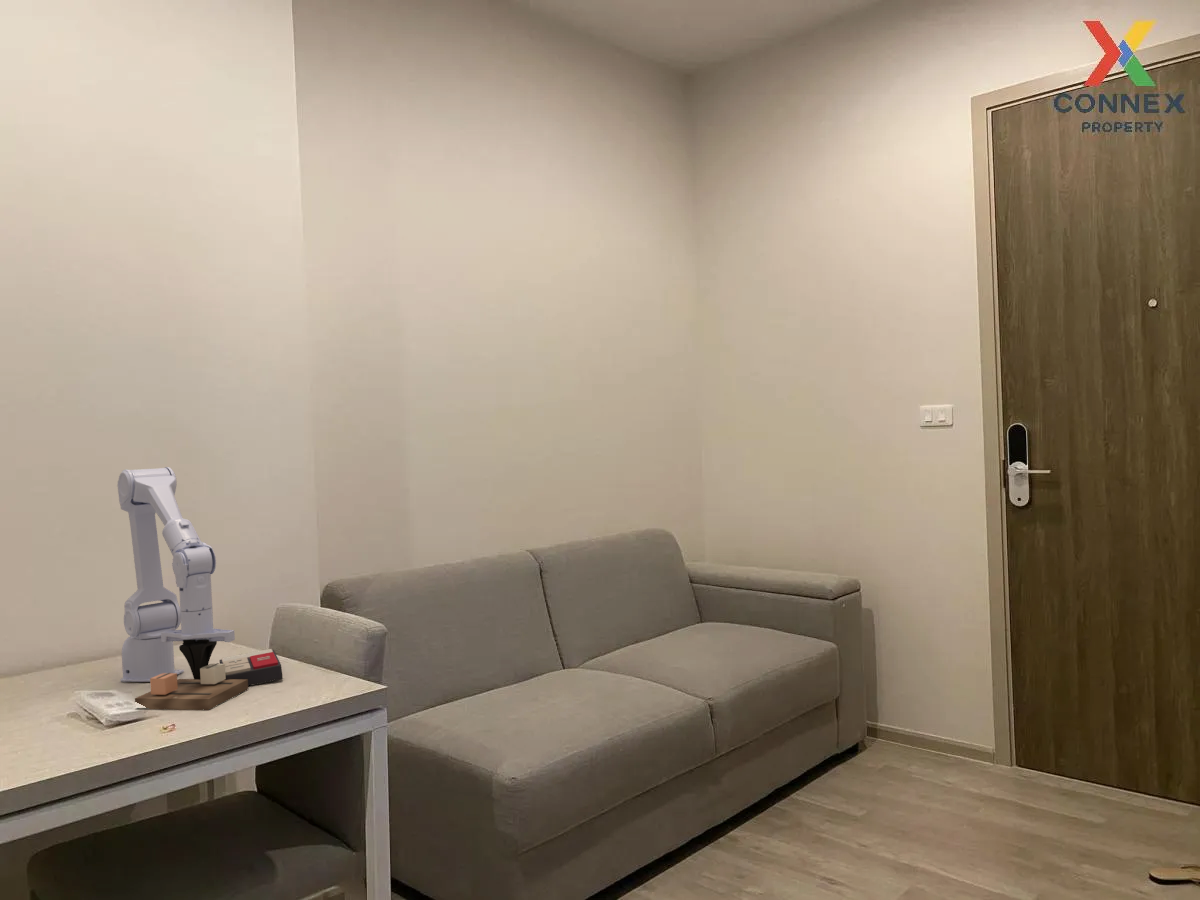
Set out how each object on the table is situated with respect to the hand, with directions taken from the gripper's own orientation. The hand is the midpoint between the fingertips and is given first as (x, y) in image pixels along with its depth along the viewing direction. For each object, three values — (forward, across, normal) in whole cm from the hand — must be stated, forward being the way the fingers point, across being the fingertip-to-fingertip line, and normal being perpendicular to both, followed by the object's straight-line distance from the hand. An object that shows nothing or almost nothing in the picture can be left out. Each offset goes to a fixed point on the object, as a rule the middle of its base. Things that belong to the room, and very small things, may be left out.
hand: (199, 678), depth 176 cm
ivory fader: (+1, +3, 0) cm, 3 cm away
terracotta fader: (+1, -3, -7) cm, 8 cm away
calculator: (+3, +4, +12) cm, 13 cm away
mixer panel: (+3, +1, -4) cm, 5 cm away
